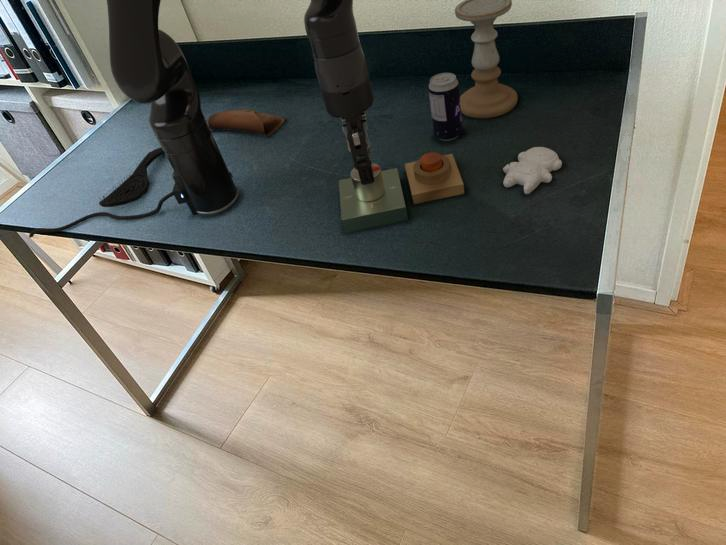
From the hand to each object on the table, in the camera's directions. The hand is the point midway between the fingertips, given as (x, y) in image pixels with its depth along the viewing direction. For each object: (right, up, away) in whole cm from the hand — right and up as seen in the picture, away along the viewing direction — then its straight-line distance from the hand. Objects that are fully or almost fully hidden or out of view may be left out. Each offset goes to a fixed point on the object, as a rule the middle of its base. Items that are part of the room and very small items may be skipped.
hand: (366, 168), depth 90 cm
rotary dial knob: (+1, -4, +3) cm, 5 cm away
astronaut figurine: (+29, 0, +3) cm, 29 cm away
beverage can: (+17, +10, +17) cm, 26 cm away
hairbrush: (-50, +3, +30) cm, 59 cm away
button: (+12, +1, +4) cm, 12 cm away
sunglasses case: (-28, +18, +38) cm, 51 cm away
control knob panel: (+1, -6, +5) cm, 8 cm away
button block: (+12, -1, +7) cm, 14 cm away
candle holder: (+26, +18, +23) cm, 39 cm away
